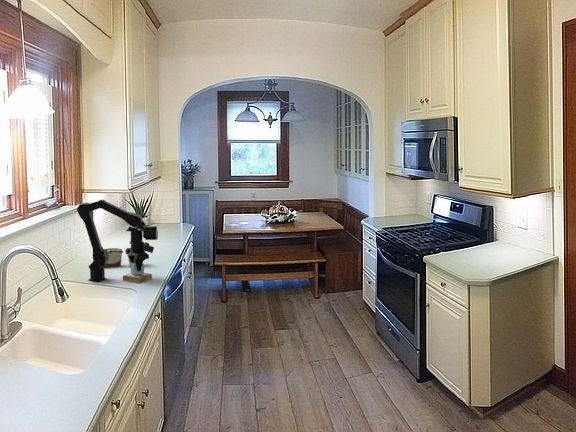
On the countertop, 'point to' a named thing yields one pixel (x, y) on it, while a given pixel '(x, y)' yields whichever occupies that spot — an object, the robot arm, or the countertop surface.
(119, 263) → the food container
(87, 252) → the countertop surface
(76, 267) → the countertop surface
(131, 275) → the base
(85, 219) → the robot arm
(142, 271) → the block
